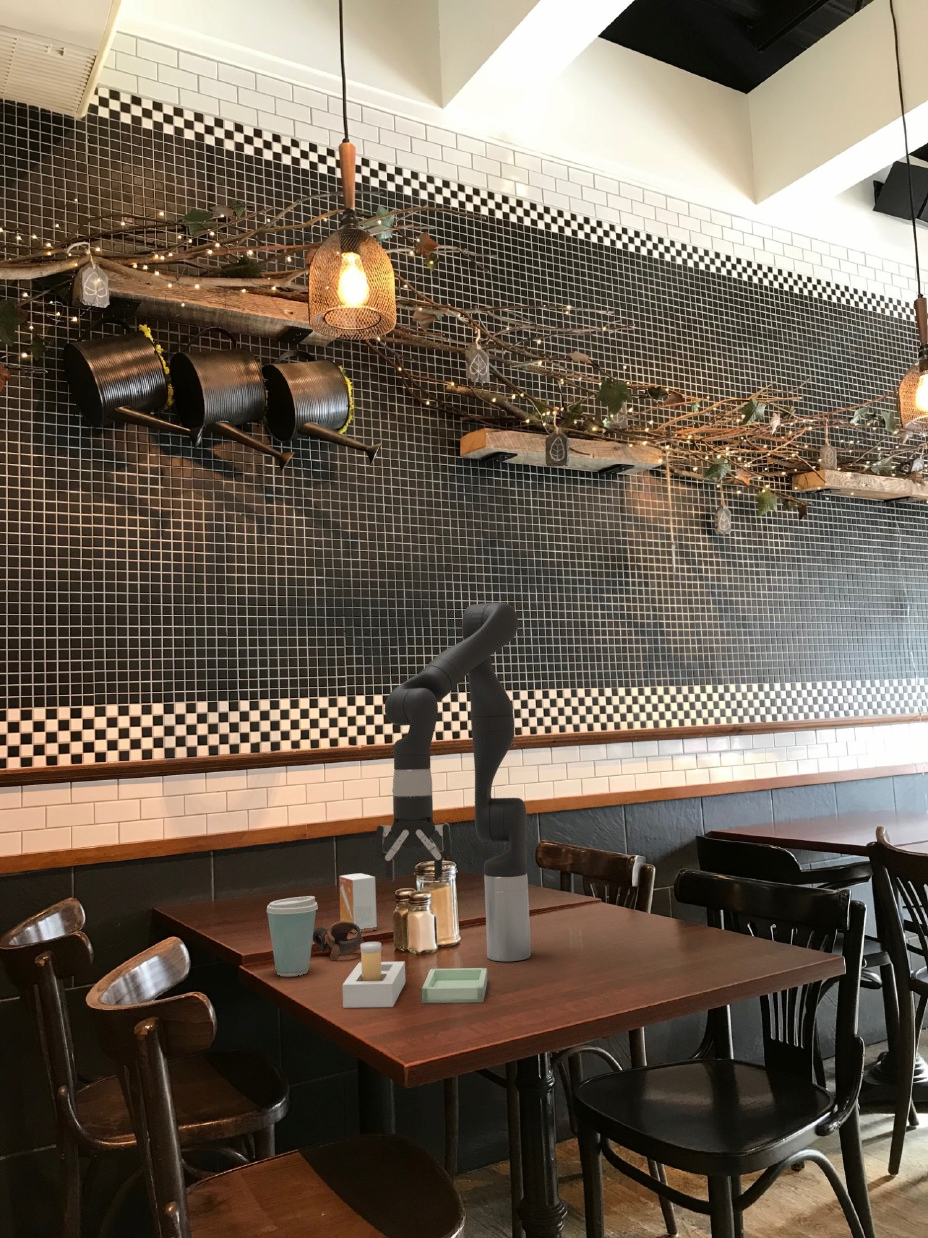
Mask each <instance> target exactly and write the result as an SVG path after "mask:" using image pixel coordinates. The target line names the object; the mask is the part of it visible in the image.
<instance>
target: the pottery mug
mask: <svg viewBox="0 0 928 1238" xmlns="http://www.w3.org/2000/svg"><path fill="white" fill-rule="evenodd" d="M353 929H354V930H355V931H356V932H357V934H356V936H355V937H354V938H353V939H349V938H348V935H349V933H350V932H351V931H352V930H353ZM312 942H314V944H315V945H316V946H317V947H319V949H320V950H321V952H322V953H324V952H325V951H327V950H328V951H327V952H328V953H329V958H330V959H331V960H333V961H335V960H336V961H337V960H338V959H339V957H344V956H345V955H349V954H352V953H354V952H357V949H360V944H362V943H365V941H364V939H363V937H362V933H361V930H360V928H359V927H358V926H357V925H356V924H354V923H351V922H348V921H340V920H339V921H336V922H334V923H331V924H330V925H329V926H328V928H325V927H321V926H318V927H314V931H313V939H312Z"/></svg>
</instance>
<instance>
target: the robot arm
mask: <svg viewBox="0 0 928 1238" xmlns="http://www.w3.org/2000/svg"><path fill="white" fill-rule="evenodd" d="M461 618H462V619H461V633H462V641H460V642H458V643H456V644H454V645H451V646H450V647H449V648H447V649H445V650H443V651H441V652H440V653H439V654H438V655H436V656H435V657H434V658H433V659H432V660H431V661H430V662H429V663H428V664H427V665H426V666H425V667H424V668H423V669H422V670H421V671H420V672H419V673H418V674H415V675H414V676H412V677H410V678H409V679H407V680H405V681H404V682H403V683H401V684H399V685H398V686H397V687H395V688H394V689H393V690H392V691H391V692H390V693H389V695H388V696H387V698H386V700H385V703H384V714H385V717H386V719H387V720H388V721H389V722H390V723H391V724H393V725H396V726H409V728H408V731H407V734H406V735H405V737H402V738H400V739H397V740H396V741H395V742H394V745H393V769H394V770H393V778H392V791H391V792H392V807H393V808H392V809H393V810H392V812H393V815H392V816H393V818H392V819H393V821H392V824H391V825H384V824H380V825H378V826H377V827H376V836H375V837H376V838H375V857H376V858H378V859H382V860H384V861H385V877H386V878H387V879H388V880H389V882H395V860H394V857H395V855H396V854H397V853H398V851H399V850H400V848H401V847H403V848H405V849H410V848H417V849H421V848H424V847H426V849H427V850H428V851H429V852H430V854H431V855H432V856H433V857H434V860H433V861H434V863H433V866H434V876H433V877H434V881H439V880H440V878H442V875H443V859H444V858H447V857H449V856H451V855H452V853H453V852H452V851H453V850H452V839H451V828H450V824H449V823H448V822H445V823H443V824H435V822H434V814H433V813H434V809H433V806H434V805H433V779H432V777H433V776H432V772H431V768H432V767H431V747H432V742H433V737H434V732H435V728H436V724H437V720H438V714H439V705H438V701H441V700H443V699H444V698H445V697H447V696H448V695H449V694H450V693H451V691H452V690H454V689H455V687H456V686H458V684H459V683H460V682H461V681H462V680H463V679H464V678H465V677H466V676H468V685H469V687H468V688H469V700H470V729H471V736H472V737H471V738H472V747H473V751H472V752H473V761H474V826H475V832H476V835H477V838H478V840H480V841H481V842H487V843H488V842H489V843H492V842H493V843H495V842H501V843H502V842H504V843H507V842H509V843H510V844H509V848H508V849H507V850H505V852H503V853H501V854H499V855H496V856H494V857H491V858H488V859H487V860H485V862H484V864H483V874H484V875H483V880H484V902H485V903H484V904H485V924H486V925H485V927H486V957H487V959H489V960H492V961H497V962H516V961H523V960H527V959H529V958H531V956H532V955H531V953H532V952H531V950H532V949H531V927H530V925H531V924H530V904H529V887H528V886H529V884H528V883H529V882H528V881H529V880H528V879H529V878H528V858H527V857H528V851H527V850H528V849H527V829H528V828H527V827H528V826H527V825H528V824H527V823H528V822H527V820H528V819H527V818H528V816H527V808H526V803H525V801H524V800H523V799H522V798H521V797H492V787H493V782H494V779H495V776H496V774H497V772H498V770H499V767H500V765H501V763H502V762H503V760H504V758H505V756H506V755H507V754H508V751H509V750H510V748H511V746H512V744H513V741H514V738H515V721H514V707H513V704H512V701H511V699H510V697H509V695H508V693H507V691H506V690H505V688H504V687H503V684H502V683H501V681H500V680H499V678H498V676H497V675H496V672H495V670H494V667H493V664H492V657H491V656H492V655H493V654H494V653H496V652H497V651H499V650H500V649H502V648H503V647H505V646H507V645H508V644H509V643H510V642H511V641H512V640H513V639H514V638H515V636H516V635H517V631H518V629H519V628H518V627H519V620H518V618H519V617H518V614H517V612H516V610H515V609H514V607H513V606H512V605H510V604H508V603H507V602H506V603H505V602H499V601H498V602H497V601H496V602H488V603H487V602H485V603H474V604H471V605H468V606H467V607H466V609H464V612H463V614H462V617H461ZM436 831H437V832H438V834H439V836H441V837H442V840H443V850H440V849H439V848H438V846H437V845H436V843H435V842H434V840H432V837H433V835H434V833H435V832H436ZM389 832H390V833H391V834H392V835H393V836H394V838H395V842H393V845H392V846H391V847H390V849H389V850H388V851H385V850H384V849H385V848H384V847H385V838H386V837H387V836H388V835H389Z"/></svg>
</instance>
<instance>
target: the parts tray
mask: <svg viewBox="0 0 928 1238" xmlns="http://www.w3.org/2000/svg"><path fill="white" fill-rule="evenodd" d="M488 980H489V979H488V967H474V968H473V967H469V968H466V967H465V968H463V967H462V968H430V969H429V971H428V974H427V976H426V979H425V981H424V983H423V986H422V988H421V1004H451V1003H453V1004H458V1003H459V1004H461V1003H462V1004H463V1003H464V1004H467V1003H484V1000H485V996H486V991H487V987H488Z"/></svg>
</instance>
